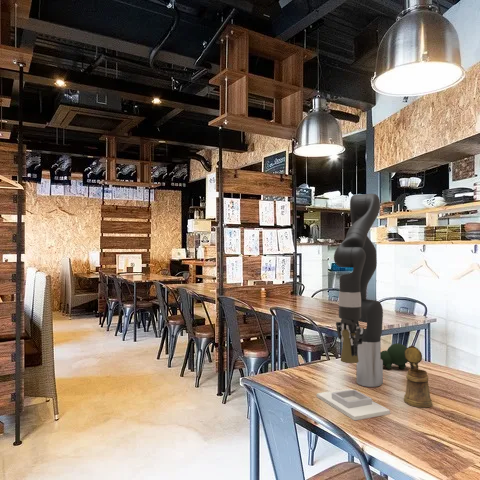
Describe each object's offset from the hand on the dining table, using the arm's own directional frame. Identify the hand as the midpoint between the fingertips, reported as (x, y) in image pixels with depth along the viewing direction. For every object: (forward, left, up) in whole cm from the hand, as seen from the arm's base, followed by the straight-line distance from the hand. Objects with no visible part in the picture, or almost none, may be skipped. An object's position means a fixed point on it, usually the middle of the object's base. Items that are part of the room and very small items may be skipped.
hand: (349, 354), depth 144 cm
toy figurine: (-41, -30, -18) cm, 54 cm away
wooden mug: (-24, +5, -18) cm, 30 cm away
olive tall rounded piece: (0, 0, -2) cm, 3 cm away
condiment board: (0, 0, -17) cm, 17 cm away
